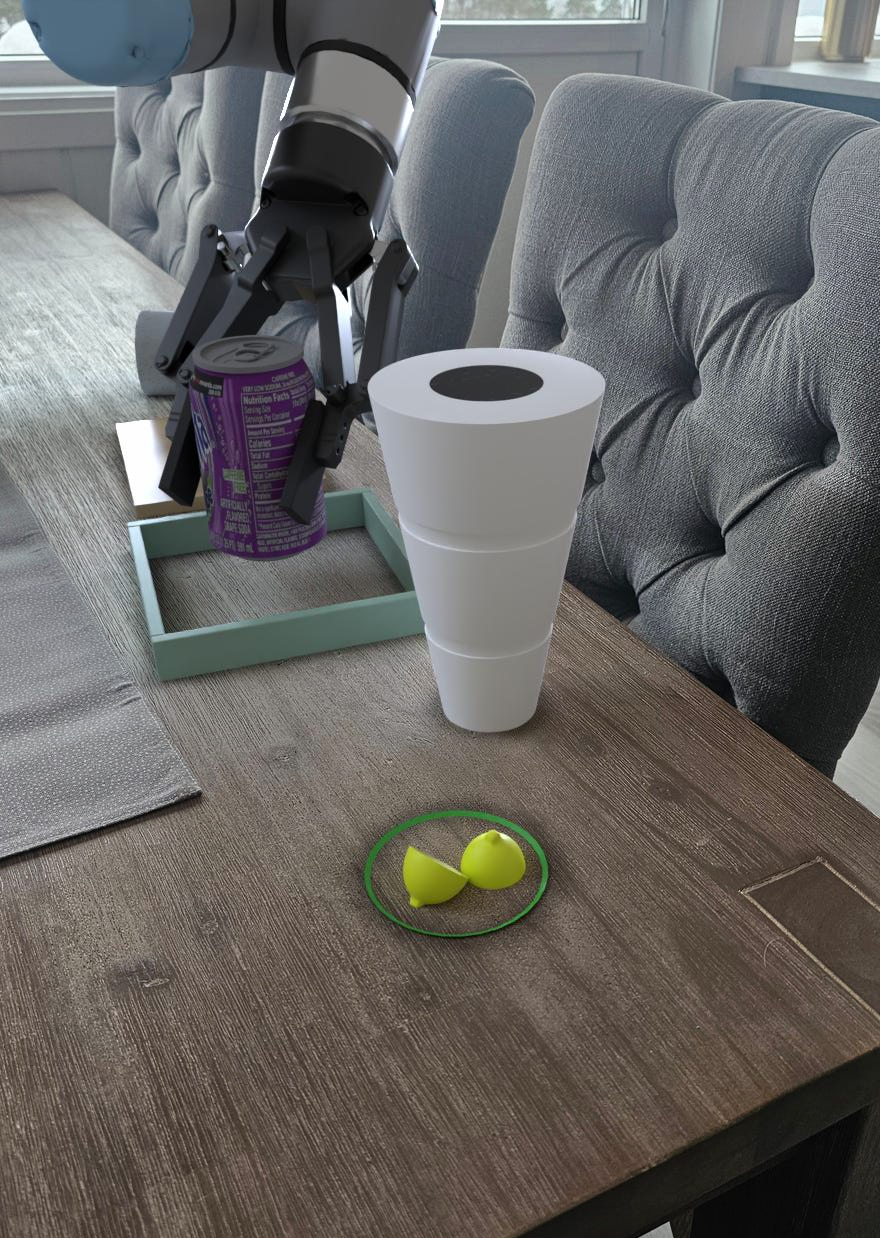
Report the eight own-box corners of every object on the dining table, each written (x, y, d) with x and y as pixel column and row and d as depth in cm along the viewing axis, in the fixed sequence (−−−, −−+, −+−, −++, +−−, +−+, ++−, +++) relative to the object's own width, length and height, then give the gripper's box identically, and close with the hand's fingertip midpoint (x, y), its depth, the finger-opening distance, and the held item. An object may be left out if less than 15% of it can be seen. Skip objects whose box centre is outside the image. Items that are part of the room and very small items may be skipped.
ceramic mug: (232, 405, 102) (221, 319, 98) (141, 407, 102) (126, 321, 98) (246, 371, 111) (237, 291, 107) (163, 373, 111) (150, 293, 107)
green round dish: (465, 978, 44) (463, 926, 43) (326, 887, 49) (321, 838, 47) (584, 871, 50) (586, 822, 48) (449, 798, 54) (448, 751, 52)
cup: (365, 684, 63) (339, 364, 53) (539, 645, 66) (544, 337, 56) (429, 794, 54) (412, 438, 45) (625, 744, 58) (649, 402, 48)
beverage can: (238, 515, 73) (214, 329, 66) (342, 524, 72) (328, 336, 65) (192, 564, 67) (161, 365, 61) (305, 575, 66) (286, 373, 59)
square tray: (160, 689, 62) (151, 643, 61) (134, 562, 76) (126, 522, 74) (444, 635, 67) (443, 591, 65) (372, 525, 80) (369, 486, 79)
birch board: (328, 496, 85) (327, 478, 84) (138, 525, 81) (134, 505, 80) (282, 419, 99) (280, 403, 98) (118, 440, 95) (115, 423, 94)
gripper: (504, 206, 69) (413, 554, 65) (220, 187, 75) (120, 507, 71) (475, 121, 62) (371, 505, 58) (164, 108, 68) (49, 457, 64)
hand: (233, 506), depth 64 cm, fingers closed on beverage can, 7 cm apart
